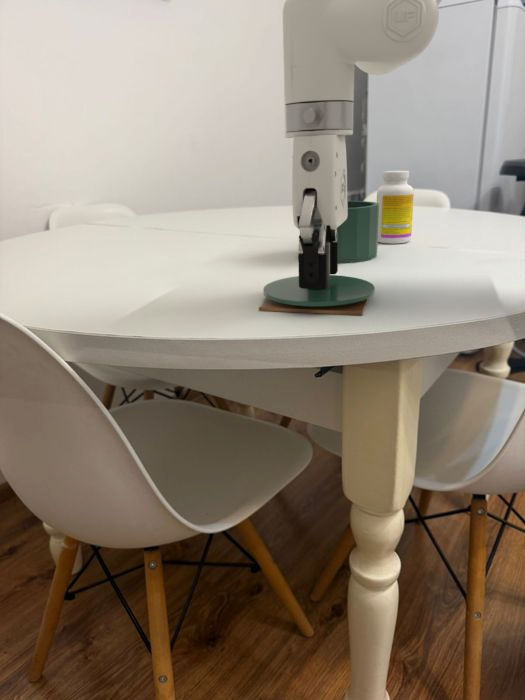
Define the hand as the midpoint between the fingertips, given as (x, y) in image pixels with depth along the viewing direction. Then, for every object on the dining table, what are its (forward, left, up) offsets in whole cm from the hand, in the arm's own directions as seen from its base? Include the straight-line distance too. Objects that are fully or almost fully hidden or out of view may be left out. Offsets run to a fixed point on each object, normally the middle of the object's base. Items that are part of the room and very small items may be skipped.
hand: (319, 279), depth 66 cm
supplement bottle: (-6, -43, -3) cm, 44 cm away
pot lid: (0, 0, -1) cm, 1 cm away
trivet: (0, 0, -3) cm, 3 cm away
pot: (+2, -28, -3) cm, 28 cm away
